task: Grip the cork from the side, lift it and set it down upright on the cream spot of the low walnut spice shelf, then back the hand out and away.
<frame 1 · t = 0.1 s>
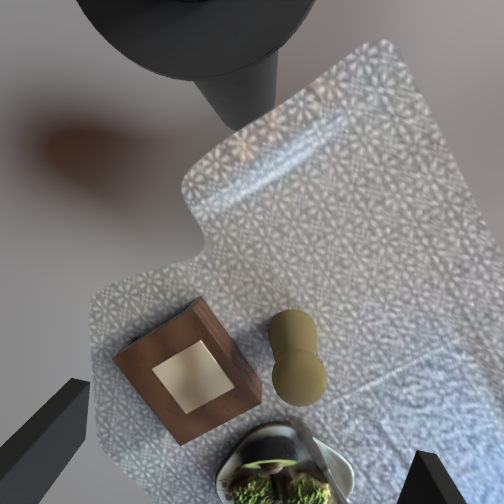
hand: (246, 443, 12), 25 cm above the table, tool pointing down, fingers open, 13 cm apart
cork: (292, 331, 39), on the table
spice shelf: (194, 362, 40), on the table
salad plate: (282, 468, 43), on the table
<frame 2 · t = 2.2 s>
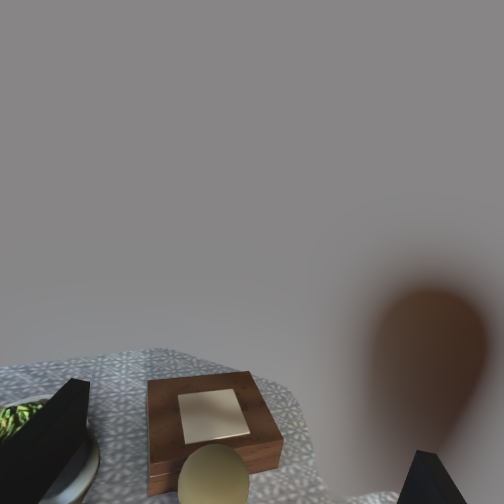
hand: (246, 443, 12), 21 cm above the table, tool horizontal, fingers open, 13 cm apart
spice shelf: (206, 434, 38), on the table
salad plate: (4, 478, 30), on the table
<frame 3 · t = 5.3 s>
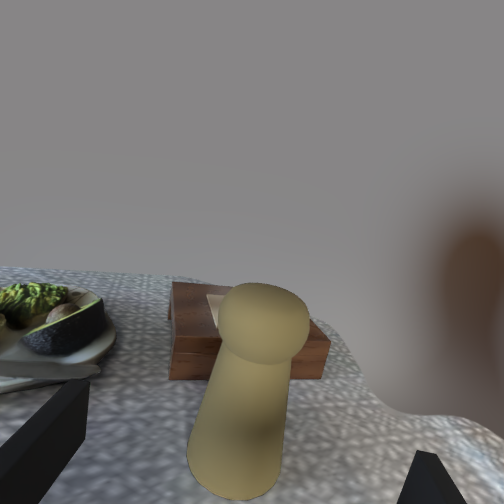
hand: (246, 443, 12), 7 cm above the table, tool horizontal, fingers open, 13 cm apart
cork: (234, 454, 20), on the table
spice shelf: (236, 342, 32), on the table
salad plate: (6, 344, 26), on the table
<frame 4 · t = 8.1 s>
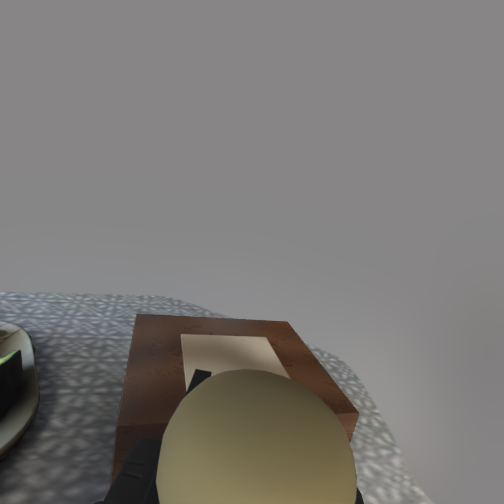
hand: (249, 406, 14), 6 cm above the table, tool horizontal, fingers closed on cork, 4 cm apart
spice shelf: (222, 402, 23), on the table
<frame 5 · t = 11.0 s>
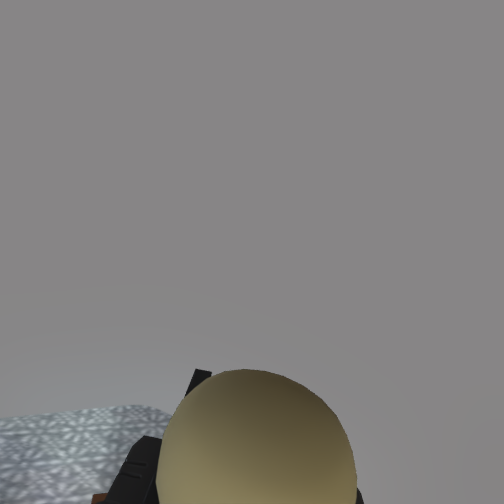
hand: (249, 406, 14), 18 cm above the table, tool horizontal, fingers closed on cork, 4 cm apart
when the fingers open (11 cm above the table, at t = 14.1 s): cork stays where it is, resting on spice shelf.
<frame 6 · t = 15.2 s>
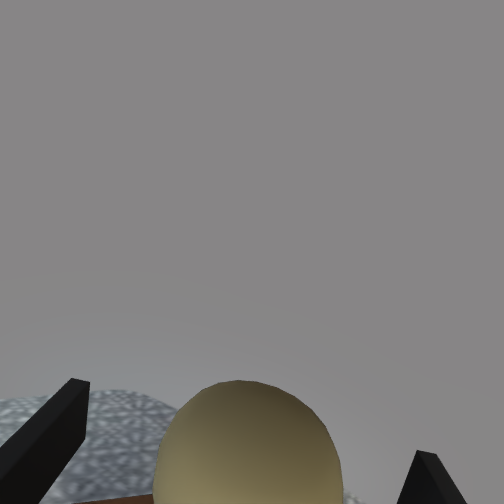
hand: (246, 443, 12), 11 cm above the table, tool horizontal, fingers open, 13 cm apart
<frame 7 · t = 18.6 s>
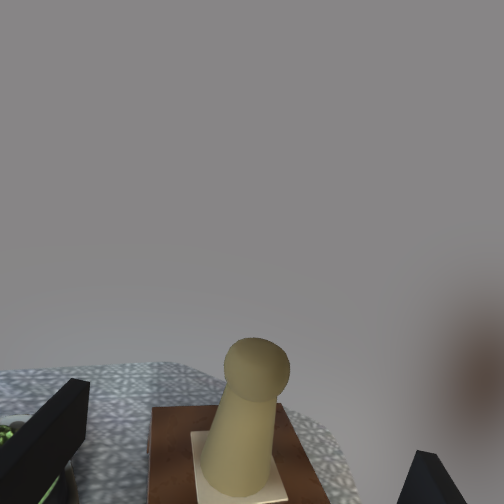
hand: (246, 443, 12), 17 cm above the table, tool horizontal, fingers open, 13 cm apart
cork: (235, 463, 26), point 4 cm above the table, touching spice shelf
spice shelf: (224, 489, 28), on the table
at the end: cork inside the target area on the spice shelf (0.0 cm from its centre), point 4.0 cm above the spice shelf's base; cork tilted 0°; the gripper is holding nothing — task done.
